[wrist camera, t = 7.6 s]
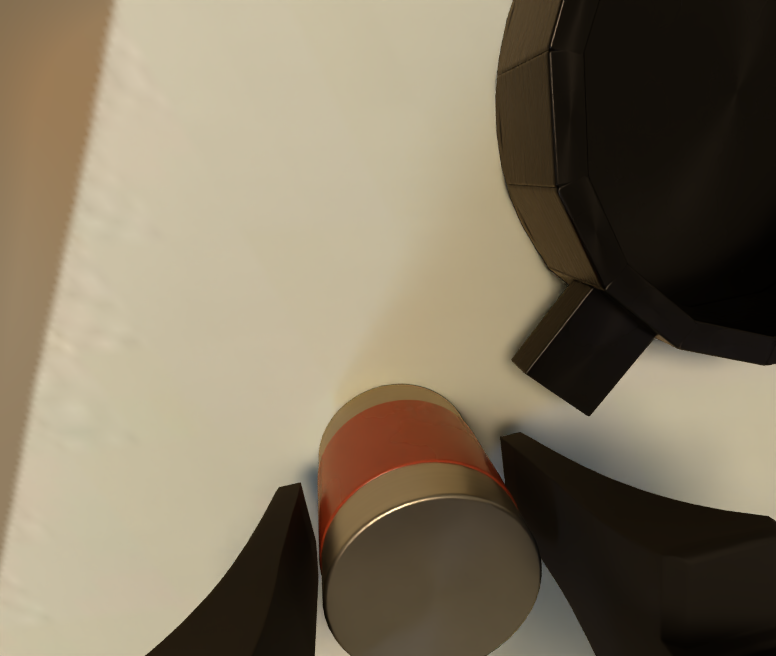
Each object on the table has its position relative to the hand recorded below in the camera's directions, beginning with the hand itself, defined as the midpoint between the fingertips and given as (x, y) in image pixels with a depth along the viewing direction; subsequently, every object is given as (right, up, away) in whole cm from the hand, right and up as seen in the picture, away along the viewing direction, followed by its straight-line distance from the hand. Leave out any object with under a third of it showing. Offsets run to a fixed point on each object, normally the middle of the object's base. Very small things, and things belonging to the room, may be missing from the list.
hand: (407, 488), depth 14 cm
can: (0, +1, +2) cm, 2 cm away
